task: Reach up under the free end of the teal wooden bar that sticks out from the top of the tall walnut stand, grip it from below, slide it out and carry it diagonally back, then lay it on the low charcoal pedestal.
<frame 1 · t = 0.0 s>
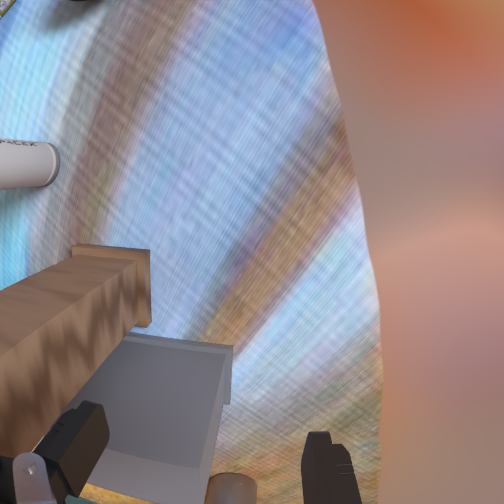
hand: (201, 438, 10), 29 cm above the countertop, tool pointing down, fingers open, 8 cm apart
juice carton: (7, 1, 31), on the countertop
charcoal pedestal: (170, 366, 43), on the countertop
travel mug: (46, 165, 38), on the countertop
walnut stand: (113, 282, 41), on the countertop
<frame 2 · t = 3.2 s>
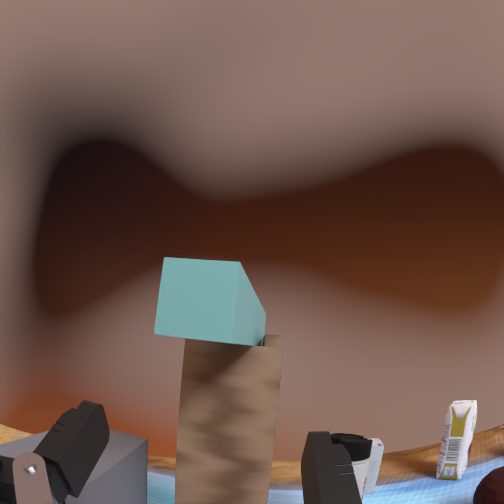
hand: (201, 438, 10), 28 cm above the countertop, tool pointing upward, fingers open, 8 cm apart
juice carton: (450, 475, 49), on the countertop
teal bar: (230, 343, 26), point 32 cm above the countertop, touching walnut stand
skincare box: (363, 490, 51), on the countertop
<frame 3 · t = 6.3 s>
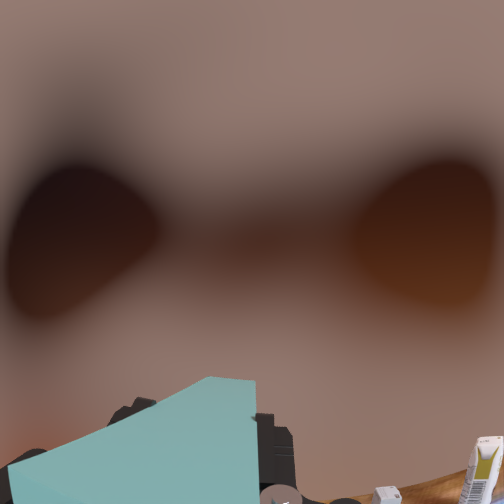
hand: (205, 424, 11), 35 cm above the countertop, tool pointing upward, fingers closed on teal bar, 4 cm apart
teal bar: (209, 471, 13), point 32 cm above the countertop, touching gripper
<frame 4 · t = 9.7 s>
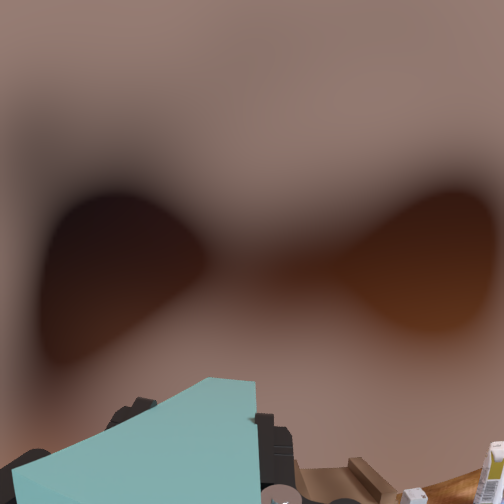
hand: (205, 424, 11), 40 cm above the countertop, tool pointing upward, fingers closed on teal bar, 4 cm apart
teal bar: (209, 471, 13), point 37 cm above the countertop, touching gripper
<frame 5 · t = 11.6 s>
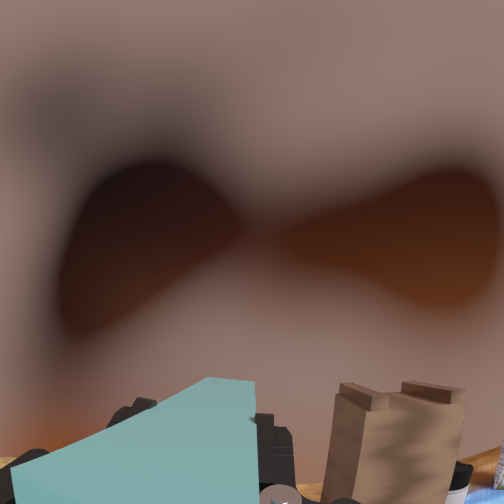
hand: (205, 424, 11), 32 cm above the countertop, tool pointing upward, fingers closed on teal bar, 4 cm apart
teal bar: (209, 471, 13), point 29 cm above the countertop, touching gripper
when the fingers open (26 cm above the countertop, at t = 13.1 s): teal bar drops 2 cm, resting on charcoal pedestal.
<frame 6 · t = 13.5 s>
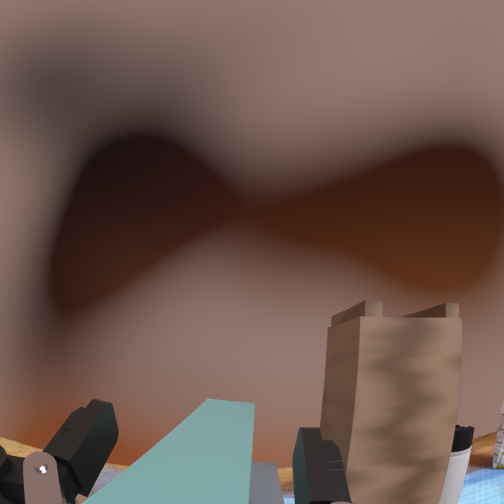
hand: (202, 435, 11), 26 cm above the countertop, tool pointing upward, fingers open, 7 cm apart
teal bar: (207, 502, 12), point 21 cm above the countertop, touching charcoal pedestal
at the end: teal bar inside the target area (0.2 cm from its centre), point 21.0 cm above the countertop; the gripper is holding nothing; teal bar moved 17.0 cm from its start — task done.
